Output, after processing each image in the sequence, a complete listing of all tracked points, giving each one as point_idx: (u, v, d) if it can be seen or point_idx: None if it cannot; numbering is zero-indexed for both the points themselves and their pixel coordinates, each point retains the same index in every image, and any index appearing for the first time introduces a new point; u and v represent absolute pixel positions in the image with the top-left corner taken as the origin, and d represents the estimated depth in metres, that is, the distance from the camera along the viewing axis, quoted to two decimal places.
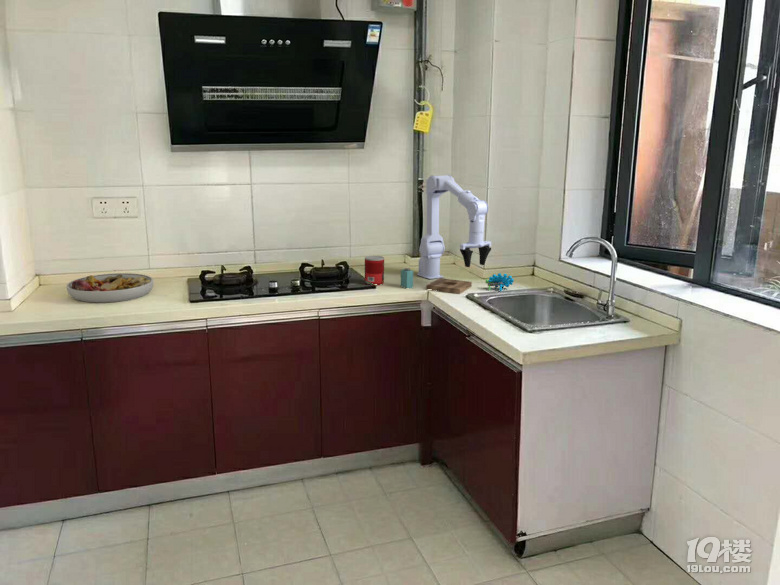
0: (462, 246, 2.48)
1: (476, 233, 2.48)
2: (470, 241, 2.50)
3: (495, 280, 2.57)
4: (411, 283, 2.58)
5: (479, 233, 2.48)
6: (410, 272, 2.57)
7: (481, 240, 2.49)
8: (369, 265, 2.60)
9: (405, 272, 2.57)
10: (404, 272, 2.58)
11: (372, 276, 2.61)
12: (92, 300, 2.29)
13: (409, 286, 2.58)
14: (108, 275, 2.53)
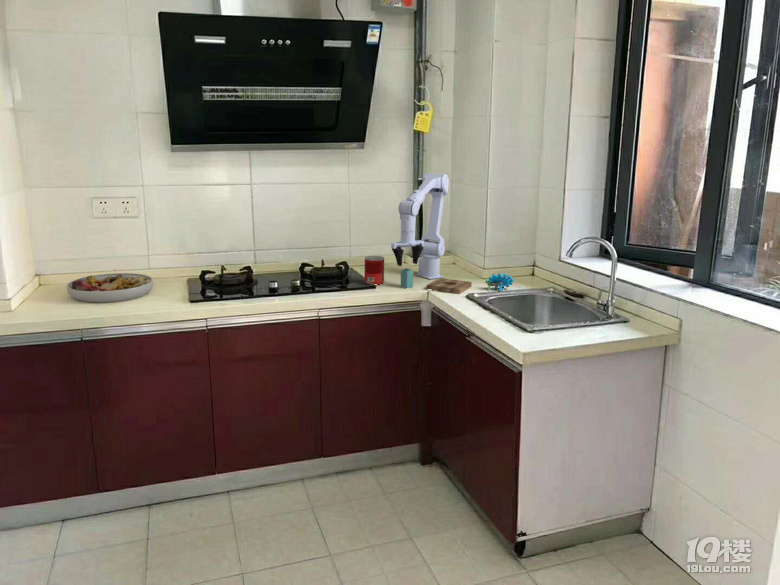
0: (393, 245, 2.51)
1: (407, 232, 2.52)
2: (402, 240, 2.54)
3: (495, 280, 2.57)
4: (411, 283, 2.58)
5: (410, 232, 2.52)
6: (410, 272, 2.57)
7: (412, 239, 2.53)
8: (369, 265, 2.60)
9: (405, 272, 2.57)
10: (404, 272, 2.58)
11: (372, 276, 2.61)
12: (92, 300, 2.29)
13: (409, 286, 2.58)
14: (108, 275, 2.53)
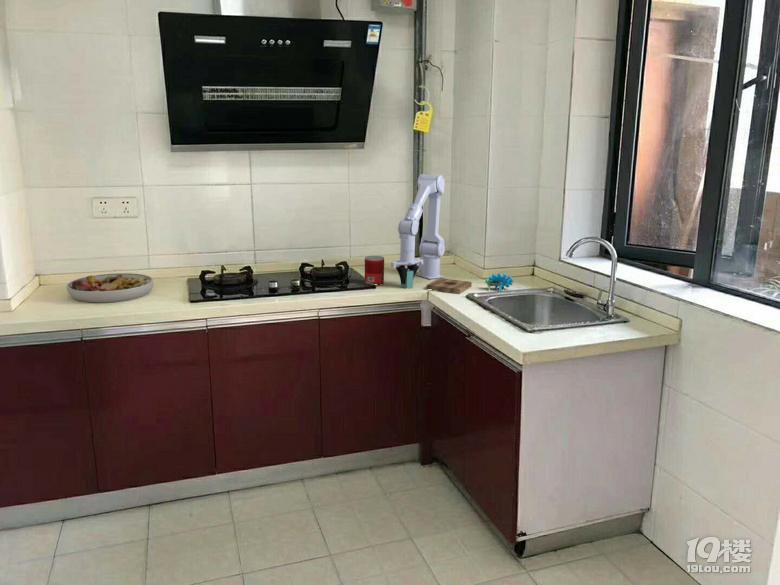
0: (393, 264, 2.53)
1: (406, 252, 2.54)
2: (401, 259, 2.56)
3: (495, 280, 2.57)
4: (411, 283, 2.58)
5: (409, 252, 2.54)
6: (410, 272, 2.57)
7: (412, 258, 2.55)
8: (369, 265, 2.60)
9: None
10: None
11: (372, 276, 2.61)
12: (92, 300, 2.29)
13: (409, 286, 2.58)
14: (108, 275, 2.53)
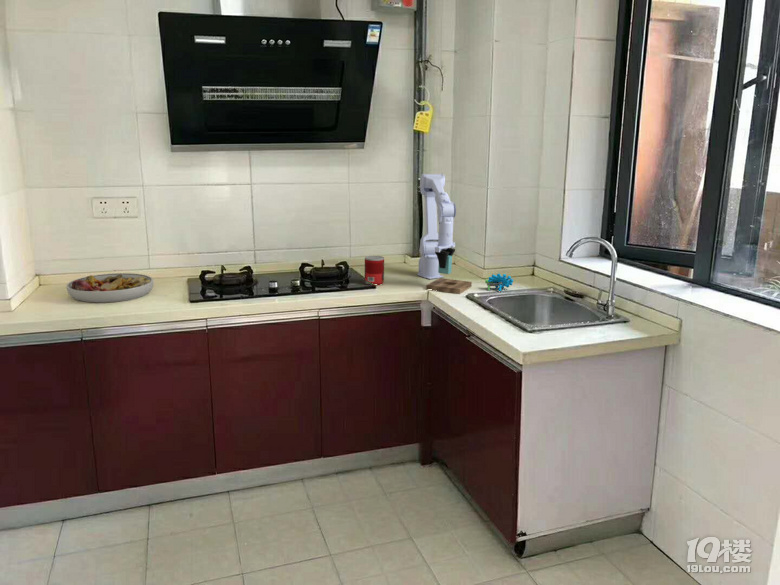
0: (438, 249, 2.49)
1: (448, 235, 2.52)
2: (442, 243, 2.53)
3: (495, 280, 2.57)
4: (450, 268, 2.57)
5: (450, 235, 2.52)
6: (450, 257, 2.55)
7: (452, 241, 2.54)
8: (369, 265, 2.60)
9: None
10: None
11: (372, 276, 2.61)
12: (92, 300, 2.29)
13: (449, 271, 2.57)
14: (108, 275, 2.53)
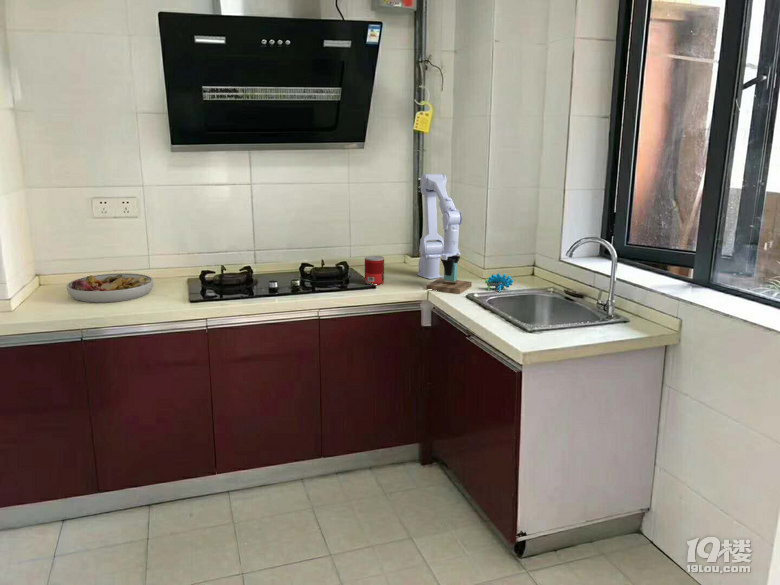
0: (445, 257, 2.50)
1: (454, 242, 2.52)
2: (448, 251, 2.53)
3: (494, 280, 2.57)
4: (456, 275, 2.58)
5: (456, 242, 2.53)
6: (456, 264, 2.56)
7: (457, 249, 2.55)
8: (369, 265, 2.60)
9: None
10: None
11: (372, 276, 2.61)
12: (92, 300, 2.29)
13: (455, 279, 2.57)
14: (108, 275, 2.53)
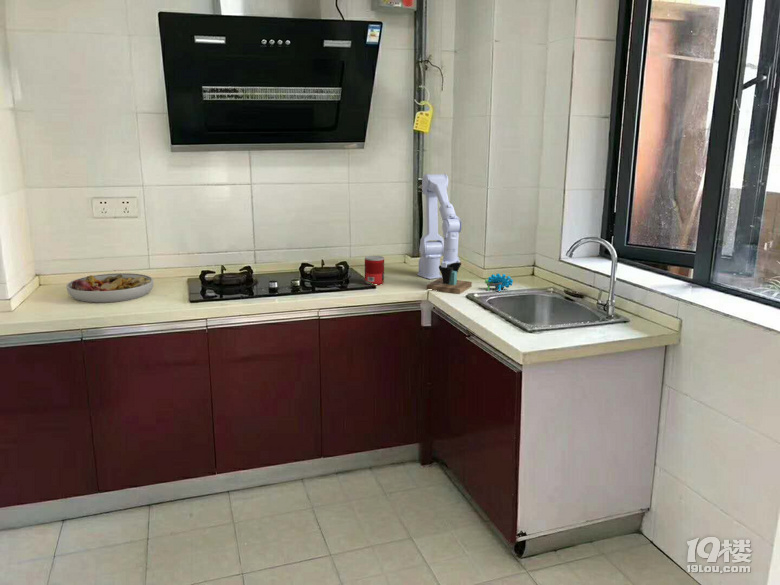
0: (444, 264, 2.50)
1: (454, 250, 2.53)
2: (447, 258, 2.54)
3: (494, 280, 2.57)
4: (455, 283, 2.59)
5: (456, 250, 2.54)
6: (455, 273, 2.57)
7: (457, 256, 2.55)
8: (369, 265, 2.60)
9: (451, 273, 2.56)
10: None
11: (372, 276, 2.61)
12: (92, 300, 2.29)
13: None
14: (108, 275, 2.53)
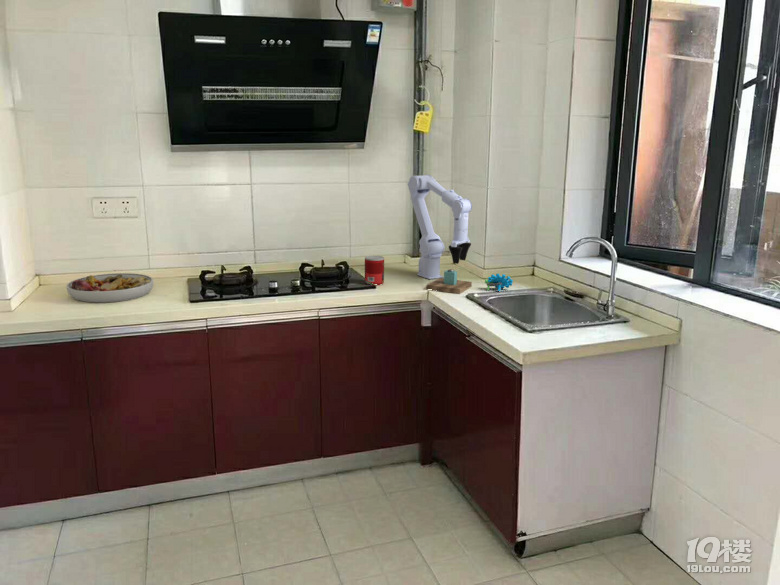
0: (454, 244, 2.57)
1: (464, 230, 2.59)
2: (457, 238, 2.60)
3: (494, 280, 2.57)
4: (455, 283, 2.59)
5: (466, 230, 2.60)
6: (455, 273, 2.57)
7: None
8: (369, 265, 2.60)
9: (451, 273, 2.56)
10: (449, 273, 2.57)
11: (372, 276, 2.61)
12: (92, 300, 2.29)
13: None
14: (108, 275, 2.53)
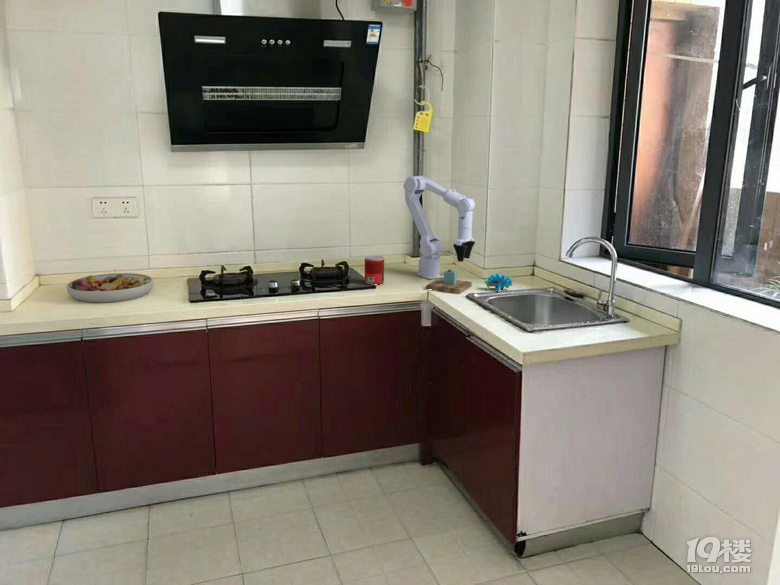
0: (459, 242, 2.60)
1: (468, 229, 2.63)
2: (462, 237, 2.64)
3: (494, 280, 2.56)
4: (455, 283, 2.59)
5: (470, 228, 2.63)
6: (455, 273, 2.57)
7: (471, 235, 2.65)
8: (369, 265, 2.60)
9: (451, 273, 2.56)
10: (449, 273, 2.57)
11: (372, 276, 2.61)
12: (92, 300, 2.29)
13: None
14: (108, 275, 2.53)
